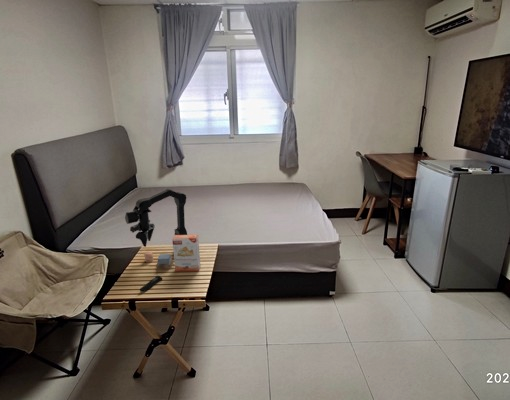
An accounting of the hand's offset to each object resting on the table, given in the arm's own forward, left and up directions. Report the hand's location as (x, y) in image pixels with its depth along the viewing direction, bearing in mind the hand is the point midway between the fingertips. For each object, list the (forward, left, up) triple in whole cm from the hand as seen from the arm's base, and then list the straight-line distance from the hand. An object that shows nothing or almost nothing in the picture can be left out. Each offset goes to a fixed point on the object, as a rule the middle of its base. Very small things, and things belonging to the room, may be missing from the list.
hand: (147, 243), depth 195 cm
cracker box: (-27, +14, -12) cm, 33 cm away
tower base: (-12, +9, -12) cm, 19 cm away
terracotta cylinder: (0, 0, -12) cm, 12 cm away
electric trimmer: (-10, +31, -12) cm, 35 cm away
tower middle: (-12, +9, -8) cm, 18 cm away
